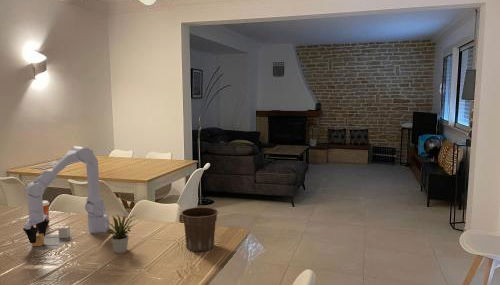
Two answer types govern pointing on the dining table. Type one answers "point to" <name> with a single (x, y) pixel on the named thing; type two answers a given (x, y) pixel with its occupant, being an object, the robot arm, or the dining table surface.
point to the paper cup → (45, 210)
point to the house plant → (120, 234)
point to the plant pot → (199, 228)
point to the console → (51, 242)
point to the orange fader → (39, 239)
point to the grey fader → (64, 231)
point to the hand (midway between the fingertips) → (37, 239)
